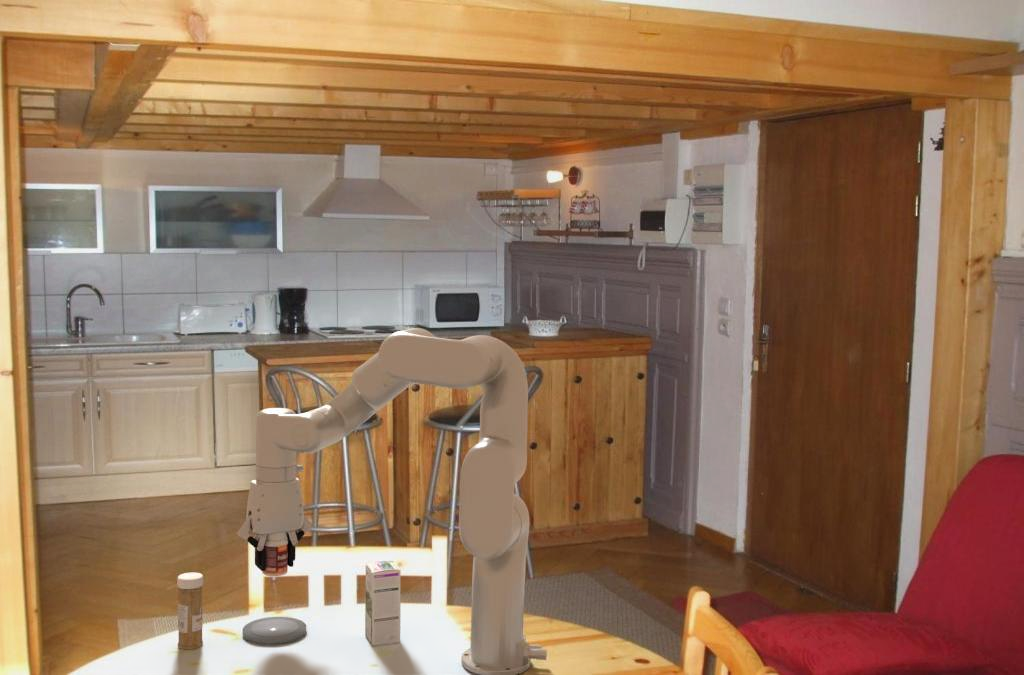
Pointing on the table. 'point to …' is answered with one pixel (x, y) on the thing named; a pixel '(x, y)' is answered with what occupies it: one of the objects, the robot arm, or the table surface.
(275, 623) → the dish
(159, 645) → the table surface
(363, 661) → the table surface
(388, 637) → the syrup box
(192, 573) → the sprinkles bottle
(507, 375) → the robot arm
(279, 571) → the pill bottle
